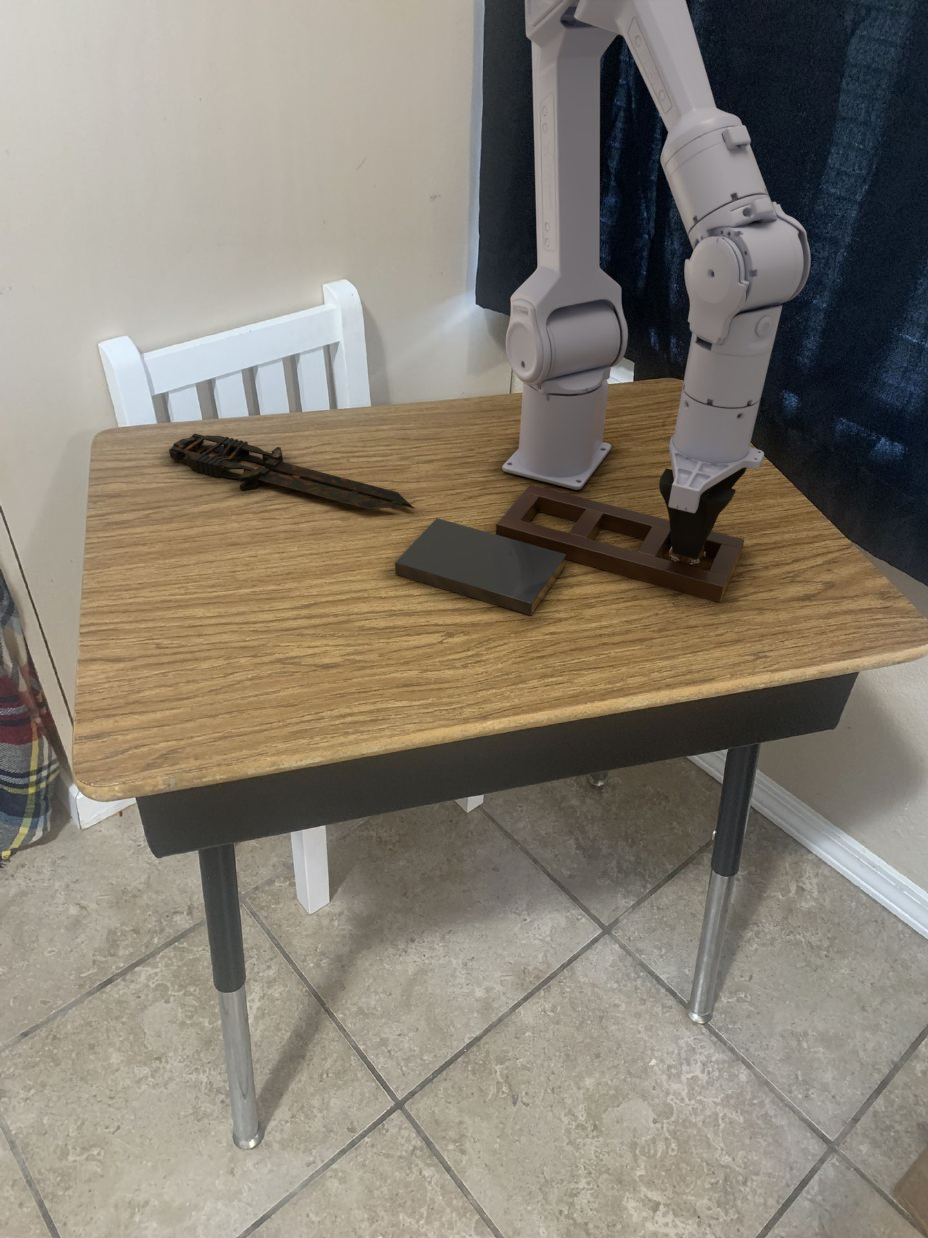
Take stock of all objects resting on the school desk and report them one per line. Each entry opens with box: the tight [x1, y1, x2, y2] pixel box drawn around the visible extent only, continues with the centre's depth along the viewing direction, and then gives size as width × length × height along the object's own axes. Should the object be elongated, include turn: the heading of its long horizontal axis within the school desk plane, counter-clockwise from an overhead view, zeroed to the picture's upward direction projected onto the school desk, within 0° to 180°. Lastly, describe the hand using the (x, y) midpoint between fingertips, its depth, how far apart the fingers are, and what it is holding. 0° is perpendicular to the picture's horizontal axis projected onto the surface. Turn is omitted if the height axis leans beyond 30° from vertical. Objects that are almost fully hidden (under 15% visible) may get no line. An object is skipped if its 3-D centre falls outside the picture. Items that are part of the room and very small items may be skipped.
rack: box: [495, 484, 745, 603], centre depth 83 cm, size 8×20×2 cm, turn 65°
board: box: [394, 517, 567, 616], centre depth 80 cm, size 8×12×1 cm, turn 65°
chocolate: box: [668, 546, 706, 567], centre depth 81 cm, size 3×2×4 cm
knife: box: [168, 433, 416, 510], centre depth 90 cm, size 25×6×1 cm, turn 60°
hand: (690, 544), depth 81 cm, fingers closed on chocolate, 2 cm apart
